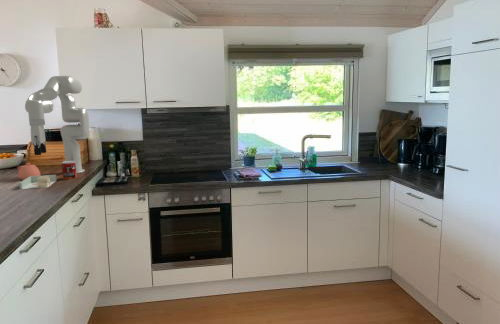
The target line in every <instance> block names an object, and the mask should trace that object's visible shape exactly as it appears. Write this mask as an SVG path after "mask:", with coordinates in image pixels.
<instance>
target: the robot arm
mask: <svg viewBox="0 0 500 324" xmlns="http://www.w3.org/2000/svg"><path fill="white" fill-rule="evenodd" d="M82 91H83V86H82V83H81V82H80V81H79V80H78V79H77V78H75V77H73V76H70V75H55V76H51V77H50V78H49V79H48V81H47V82H46V83H45V85H44V87H43V88H41V89H38V91H35V92H33V93H32V94H30V95H29V96H28V97H27V99H26V101H25V102H24V103H25V105H24V110H25V111H26V112H27V114H28V121H29V123H28V124H29V127H30V143H31V145H33V152H34V153H33V154H34V156H42V154H46V153H47V147H46V133H45V131H46V130H45V127H44V126H46V122H45V120H46V119H45V114H50V113H51V112H53V111H54V108H55V107H54V103H53V102H52V101H54V100H55V99H57V98H59V100H60V107H61V118H62V121H63V122H65V123H69V124H66V125H63V126H62V127H61V128H60V136H61V139H62V143H63V150H64V161H75V164H76V173H77V174H81V173H84V172H85V169H84V168H83V167H82V158H81V157H82V155H81V148H80V143H79V142H78V141H77V140H86V139H88V138H89V136H90V121H89V113H88V111H87V109H86V108H85V107H76V100H75V98H74V97H73V95H74V94H75V95H77V94H80V93H81V92H82ZM71 123H72V124H71ZM73 123H79V124H73Z"/></svg>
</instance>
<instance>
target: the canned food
mask: <svg viewBox="0 0 500 324" xmlns="http://www.w3.org/2000/svg"><path fill="white" fill-rule="evenodd" d="M61 169H62V178H63V180H74V179H77V178H78V173H76V164H75V161H65V160H64V161H62V162H61Z"/></svg>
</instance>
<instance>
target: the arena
mask: <svg viewBox="0 0 500 324" xmlns="http://www.w3.org/2000/svg"><path fill="white" fill-rule="evenodd" d="M45 176H49V178H50V185H49V186H48V187H47V188H49V187H51V186H52V185H53V184H54V183H56V182H57V174H46V175H40V176H30V177H28V178H26V179H25V180H22V181H19V182H18V186H19V189H20V190H25V189H26V190H27V189H44V188H45V187H38V182H37V178H39V177H45Z"/></svg>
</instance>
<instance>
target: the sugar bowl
mask: <svg viewBox="0 0 500 324" xmlns="http://www.w3.org/2000/svg"><path fill="white" fill-rule="evenodd" d="M17 171H18V173H17V176H18V179H19V180H22V181H23V180H25V179H26V178H28V177H30V176H41V171H40V169H39V167H37V166H36V165H35V164H31V162H26V163H25V164H24V165H19V166H17Z"/></svg>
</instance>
